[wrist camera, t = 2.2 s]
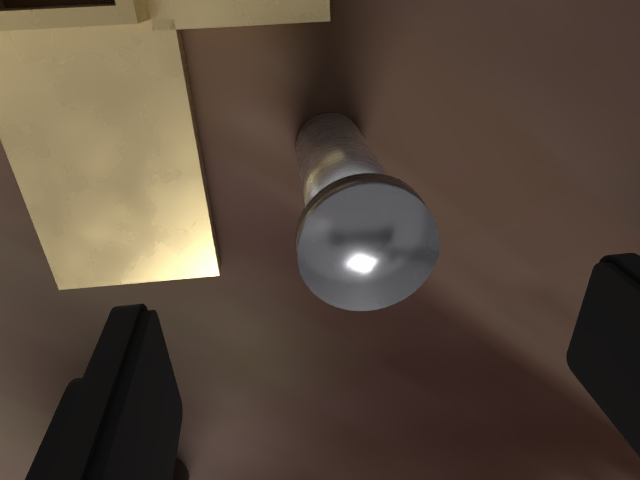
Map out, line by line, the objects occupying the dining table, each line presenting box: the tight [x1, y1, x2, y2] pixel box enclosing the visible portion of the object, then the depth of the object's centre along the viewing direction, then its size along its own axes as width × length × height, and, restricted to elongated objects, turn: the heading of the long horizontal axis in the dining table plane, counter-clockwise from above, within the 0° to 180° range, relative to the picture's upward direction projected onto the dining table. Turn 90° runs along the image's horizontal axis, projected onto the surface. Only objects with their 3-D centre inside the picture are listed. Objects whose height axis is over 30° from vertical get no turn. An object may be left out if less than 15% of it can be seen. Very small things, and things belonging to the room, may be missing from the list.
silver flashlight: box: [296, 113, 440, 311], centre depth 18 cm, size 4×4×10 cm
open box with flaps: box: [0, 0, 330, 290], centre depth 19 cm, size 14×19×3 cm
